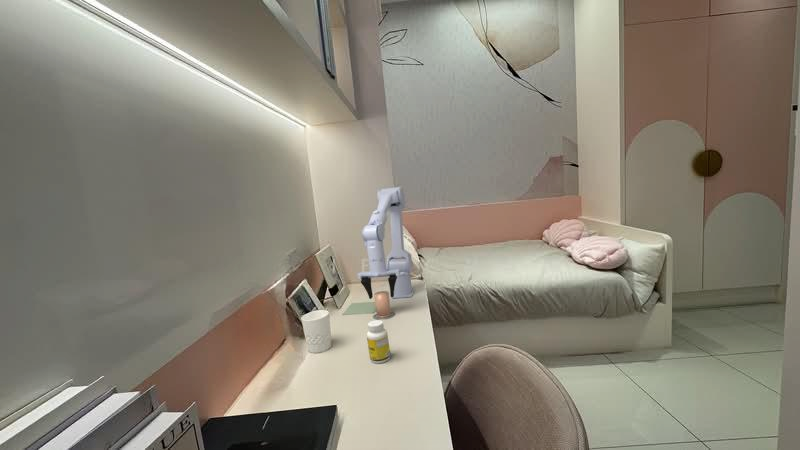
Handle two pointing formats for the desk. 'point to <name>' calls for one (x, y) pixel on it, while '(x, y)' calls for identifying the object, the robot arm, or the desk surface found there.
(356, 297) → the desk surface
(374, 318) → the coaster
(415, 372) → the desk surface
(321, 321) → the white cup
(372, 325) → the supplement bottle
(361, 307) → the mat
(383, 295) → the terracotta cup
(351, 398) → the desk surface
